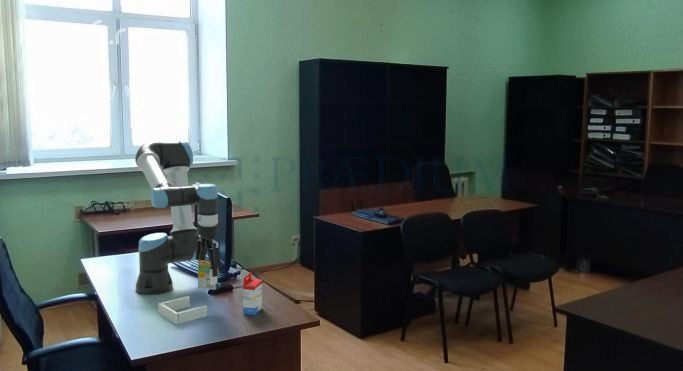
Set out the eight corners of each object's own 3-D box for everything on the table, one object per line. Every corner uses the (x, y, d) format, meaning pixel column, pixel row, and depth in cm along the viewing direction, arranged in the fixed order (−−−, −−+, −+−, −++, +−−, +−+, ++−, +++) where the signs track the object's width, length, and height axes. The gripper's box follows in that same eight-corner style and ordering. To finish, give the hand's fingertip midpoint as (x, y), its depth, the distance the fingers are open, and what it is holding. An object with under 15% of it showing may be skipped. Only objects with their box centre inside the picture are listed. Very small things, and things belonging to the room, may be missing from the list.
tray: (158, 313, 221) (158, 303, 220) (188, 305, 229) (188, 296, 229) (176, 324, 211) (176, 314, 210) (206, 316, 219) (206, 306, 219)
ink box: (254, 315, 221) (254, 279, 218) (242, 314, 222) (242, 277, 219) (262, 308, 229) (262, 272, 227) (250, 306, 230) (250, 271, 228)
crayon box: (218, 287, 228) (218, 259, 226) (215, 290, 225) (215, 261, 223) (200, 285, 229) (200, 257, 227) (197, 288, 226) (197, 259, 224)
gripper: (185, 220, 227) (186, 276, 231) (213, 231, 213) (213, 290, 217) (202, 218, 232) (203, 272, 236) (230, 228, 218) (230, 286, 222)
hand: (208, 281), depth 227 cm, fingers closed on crayon box, 7 cm apart
